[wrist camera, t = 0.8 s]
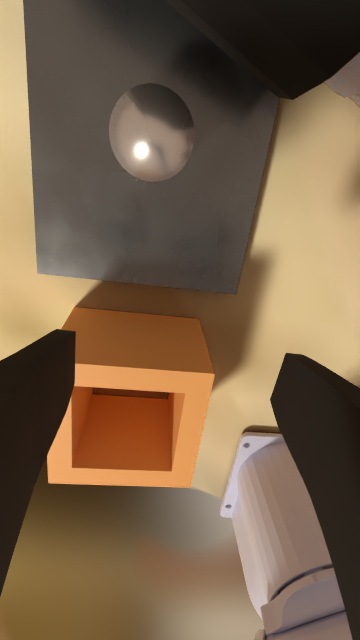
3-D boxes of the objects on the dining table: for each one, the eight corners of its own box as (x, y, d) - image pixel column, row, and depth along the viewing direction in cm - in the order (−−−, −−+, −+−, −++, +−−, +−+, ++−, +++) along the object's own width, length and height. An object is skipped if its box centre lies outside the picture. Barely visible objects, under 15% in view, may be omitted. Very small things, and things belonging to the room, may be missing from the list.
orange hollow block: (182, 413, 23) (190, 487, 18) (74, 406, 22) (48, 483, 17) (198, 318, 20) (214, 373, 15) (74, 306, 19) (42, 361, 14)
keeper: (232, 288, 19) (251, 317, 16) (43, 268, 18) (13, 294, 14) (298, -22, 14) (354, -97, 10) (28, -86, 12) (-30, -201, 8)
